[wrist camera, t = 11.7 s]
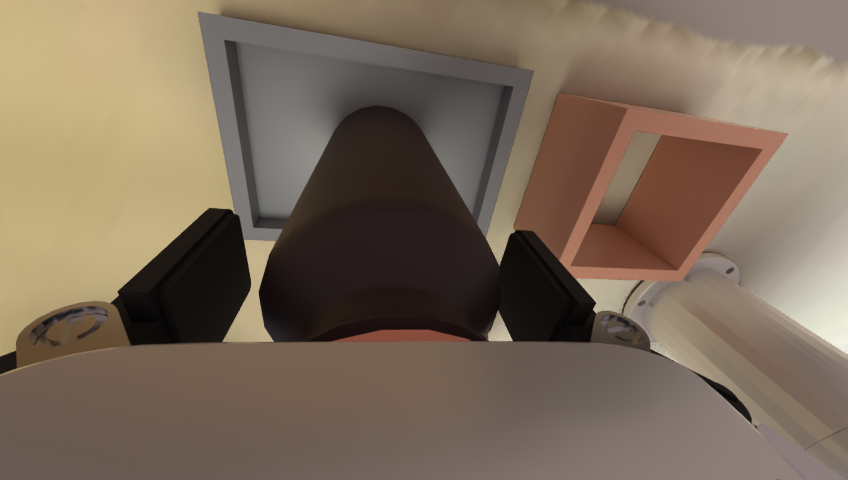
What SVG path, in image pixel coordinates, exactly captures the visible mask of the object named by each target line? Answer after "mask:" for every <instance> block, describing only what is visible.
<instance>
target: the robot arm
mask: <svg viewBox="0 0 848 480" xmlns="http://www.w3.org/2000/svg"><path fill="white" fill-rule="evenodd" d="M500 280H501V303H500V306H499V308H498V310H499V312H500V315H501V317H502V319H503V321H504V323H505V325H506V327H507V329H508V332H509V334H510V336H511V338H512V340H513V341H424V342H222V341H223V339H224V338H225V336H226V334H227V332H228V330H229V328H230V326H231V325H232V323H233V321H234V319H235V317H236V315H237V314H238V312H239V310H240V308H241V306H242V304H243V302H244V301H245V299H246V297H247V295H248V293H249V291H250V288H251V278H250V273H249V267H248V261H247V256H246V250H245V244H244V238H243V233H242V227H241V221H240V217H239V215H237V214H234V213H233V211H232V210H231V209H217V208H209V209H207V210H206V211H205V212H204V213H203V214H202V215H201V216H200V217H199V218H198V219H197V220H195V221H194V222H193V223H192V224H191V225H190V226H189V227H188V228H187V229H186V230H184V231H183V232H182V233H181V234H180V235H179V236H178V237H177V238H176V239H175V240H174V241H172V242H171V243H170V244H169V245H168V246H167V247H166V248H165V249H164V250H163V251H161V252H160V253H159V254H158V255H157V256H156V257H155V258H154V259H153V260H152V261H151V262H149V263H148V264H147V265H146V266H145V267H144V268H143V269H142V270H141V271H140V272H138V273H137V274H136V275H135V276H134V277H133V278H132V279H131V280H130V281H129V282H127V283H126V284H125V285H124V286H123V287H122V288H121V289H120V290H119V291H118V294H119V296H118V297H117V298H116V299H115V300H114V301H112V302H111V303H107V302H100V301H92V302H82V303H77V304H73V305H69V306H65V307H63V308H60V309H57V310H54V311H52V312H50V313H48V314H46V315H44V316H42V317H40V318H38V319H36V320H35V321H33V322H32V323H31V324H29V325H28V326H26V327H25V328H24V330H23V331H22V332H21V333H20V334H19V335H18V338H17V341H16V351H14V352H11V353H9V354H6V355H3V356H1V357H0V480H848V355H847V354H846V353H844V352H843V351H841V350H840V349H838V348H836V347H835V346H833V345H832V344H830V343H829V342H827V341H826V340H824V339H822V338H821V337H819V336H818V335H816V334H815V333H813V332H811V331H810V330H808V329H807V328H805V327H804V326H802V325H801V324H799V323H797V322H796V321H794V320H793V319H791V318H790V317H788V316H786V315H785V314H783V313H782V312H780V311H779V310H777V309H776V308H774V307H772V306H771V305H769V304H768V303H766V302H765V301H763V300H761V299H760V298H758V297H757V296H755V295H754V294H752V293H751V292H749V291H747V290H746V289H744V288H743V287H741V286H740V285H738V284H739V281H740V272H739V269H738V267H737V266H736V265H735V264H734V262H732V261H731V260H729V259H727V258H726V257H724V256H722V255H719V254H715V253H702V254H701V255H700V256H699V258H698V259H697V261H696V262H695V263H694V265H693V266H692V267H691V269H690V270H689V272H688V273H687V274H686V276H685V277H684V278H683V280H682V281H681V282H677V281H647V280H644V281H643V282H642V283H641V284H640V285H639V286H638V287H637V288H636V290H635V291H634V292H633V293H632V295H631V296H630V298H629V299H628V301H627V304H626V306H625V309H624V313H623V315H622V314H619V313H616V312H612V311H600V312H598V313H597V314H596V313H595V312H594V310H593V308H594V306H595V305H596V302H595V301H594V300H593V299H592V297H591V296H590V295H589V294H588V293H587V292H586V291H585V289H584V288H583V287H582V286H581V285H580V284H579V283H578V281H577V280H576V279H575V278H574V277H573V276H572V275H571V273H570V272H569V271H568V270H567V269H566V268H565V267H564V266H563V264H562V263H561V262H560V261H559V260H558V259H557V258H556V256H555V255H554V254H553V253H552V252H551V251H550V250H549V248H548V247H547V246H546V245H545V244H544V243H543V242H542V240H541V239H540V238H539V237H538V236H537V235H536V234H535V232H533V231H529V230H516V231H515V233H512V234H511V235H510V237H509V239H508V242H507V246H506V249H505V252H504V255H503V258H502V261H501V264H500ZM650 342H659V343H660V344H661V345H662V346H663V347H664V348H665V349H666V350H667V351H668V352H669V353H670V354H671V356H672V357H673V358H674V359H675V360H676V361H677V362H678V363H677V362H675V361H673V360H671V359H669V358H667V357H665V356H663V355H661V354H659V353H657V352H655V351H653V350H651V349H650Z"/></svg>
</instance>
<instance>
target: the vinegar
mask: <svg viewBox="0 0 848 480" xmlns="http://www.w3.org/2000/svg"><path fill="white" fill-rule="evenodd" d="M259 298H260V304H261V310H262V316H263V321H264V327H265V328H266V330H267V332H268V333H269V335H270V336H271V338H272V339H273V341H274V342H424V341H487V339H486V338H485V337H486V336H487V334H488V333H489V331H490V330H491V328H492V325H493V322H494V320H495V317H496V314H497V311H498V308H499V306H500V303H501V280H500V267H499V265H498V262H497V260H496V258H495V256H494V254H493V252H492V250H491V248H490V246H489V244H488V242H487V240H486V238H485V236H484V235H483V233H482V231H481V230H480V228H479V226H478V224H477V223H476V221H475V219H474V218H473V216H472V214H471V213H470V211H469V209H468V208H467V206H466V204H465V203H464V201H463V199H462V197H461V196H460V194H459V192H458V191H457V189H456V187H455V186H454V184H453V182H452V181H451V179H450V177H449V175H448V174H447V172H446V170H445V169H444V167H443V165H442V164H441V162H440V160H439V159H438V157H437V155H436V154H435V152H434V150H433V148H432V147H431V145H430V143H429V142H428V140H427V138H426V137H425V135H424V133H423V132H422V130H421V128H420V127H419V126H418V125H417V124H416V123H415V122H414V121H413V120H412V119H411V118H410V117H409V116H408V115H407V114H404V113H402V112H400V111H398V110H396V109H394V108H392V107H384V106H377V105H375V106H370V107H365V108H360V109H358V110H356V111H355V112H353V113H351V114H350V115H348V116H346V117H345V118H344V119H343V120H342V122H341V123H340V124H339V125H338V127H337V128H336V129H335V130H334V132H333V134H332V136H331V138H330V140H329V142H328V144H327V146H326V148H325V150H324V151H323V153H322V155H321V157H320V159H319V161H318V163H317V165H316V167H315V169H314V171H313V172H312V174H311V176H310V178H309V180H308V182H307V184H306V186H305V188H304V190H303V192H302V193H301V195H300V197H299V199H298V201H297V203H296V205H295V207H294V209H293V211H292V213H291V215H290V216H289V218H288V220H287V222H286V224H285V226H284V228H283V230H282V232H281V234H280V236H279V237H278V239H277V241H276V243H275V245H274V247H273V249H272V251H271V253H270V255H269V258H268V261H267V265H266V268H265V272H264V275H263V278H262V282H261V285H260V289H259Z"/></svg>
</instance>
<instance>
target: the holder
mask: <svg viewBox="0 0 848 480" xmlns="http://www.w3.org/2000/svg"><path fill="white" fill-rule="evenodd" d="M635 131H640V132H647V133H654V134H661V135H662V137H661V139H660V141H659V143H658V145H657V147H656V149H655V151H654V152H653V154H652V156H651V158H650V160H649V162H648V164H647V166H646V168H645V170H644V171H643V173H642V175H641V177H640V179H639V181H638V183H637V185H636V187H635V189H634V190H633V192H632V194H631V196H630V198H629V200H628V202H627V204H626V206H625V208H624V210H623V211H622V213H621V215H620V217H619V219H618V221H617V223H616V225H602V224H591V222H592V220H593V217H594V215H595V213H596V211H597V209H598V207H599V205H600V203H601V201H602V199H603V196H604V194H605V192H606V190H607V188H608V186H609V184H610V182H611V180H612V178H613V176H614V173H615V171H616V169H617V167H618V165H619V163H620V161H621V159H622V157H623V155H624V152H625V150H626V148H627V146H628V144H629V142H630V140H631V138H632V136H633V134H634V132H635ZM787 135H788V134H786V133H781V132H775V131H770V130H765V129H760V128H755V127H750V126H745V125H740V124H735V123H730V122H725V121H720V120H715V119H710V118H705V117H700V116H695V115H690V114H685V113H679V112H673V111H667V110H660V109H654V108H648V107H642V106H636V105H630V104H624V103H618V102H612V101H605V100H599V99H593V98H587V97H581V96H575V95H569V94H563V93H559V94H558V97H557V100H556V103H555V106H554V109H553V112H552V115H551V117H550V120H549V123H548V126H547V129H546V132H545V135H544V138H543V141H542V144H541V147H540V150H539V153H538V156H537V159H536V162H535V165H534V168H533V171H532V174H531V177H530V180H529V183H528V186H527V189H526V192H525V195H524V198H523V201H522V204H521V207H520V210H519V213H518V216H517V219H516V222H515V225H514V230H515V231H516V230H529V231H533V232H535V234H536V235H537V236H538V237H539V238H540V239H541V240H542V242H543V243H544V244H545V245H546V246H547V247H548V248H549V250H550V251H551V252H552V253H553V254H554V255H555V256H556V258H557V259H558V260H559V261H560V262H561V263H562V264H563V266H564V267H565V268H566V269H567V270H568V271H569V272H570V273H571V275H572V276H573V277H574V278H588V279H618V280H647V281H677V282H681V281H682V280H683V278H684V277H685V276H686V274H687V273H688V272H689V270H690V269H691V267H692V266H693V265H694V263H695V262H696V261H697V259H698V258H699V256H700V255H701V254H702V252H703V251H704V250H705V248H706V247H707V245H708V244H709V243H710V241H711V240H712V238H713V237H714V236H715V234H716V233H717V232H718V230H719V229H720V227H721V226H722V225H723V223H724V222H725V221H726V219H727V218H728V216H729V215H730V214H731V212H732V211H733V210H734V208H735V207H736V205H737V204H738V203H739V201H740V200H741V199H742V197H743V196H744V194H745V193H746V192H747V190H748V189H749V188H750V186H751V185H752V183H753V182H754V181H755V179H756V178H757V177H758V175H759V174H760V172H761V171H762V170H763V168H764V167H765V165H766V164H767V163H768V161H769V160H770V159H771V157H772V156H773V154H774V153H775V152H776V150H777V149H778V148H779V146H780V145H781V143H782V142H783V141H784V139H785V138H786V137H787Z"/></svg>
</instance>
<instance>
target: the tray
mask: <svg viewBox="0 0 848 480" xmlns="http://www.w3.org/2000/svg"><path fill="white" fill-rule="evenodd" d="M198 17H199V22H200V27H201V33H202V38H203V44H204V49H205V54H206V60H207V65H208V71H209V76H210V81H211V87H212V92H213V98H214V103H215V108H216V114H217V119H218V125H219V130H220V135H221V141H222V146H223V152H224V157H225V162H226V168H227V173H228V179H229V184H230V189H231V195H232V200H233V205H234V211H235V214H237V215H239V217H240V221H241V227H242V233H243V238H244V240H264V241H277V239H278V237H279V236H280V234H281V232H282V230H283V228H284V226H285V224H286V222H287V220H288V218H289V216H290V215H291V213H292V211H293V209H294V207H295V205H296V203H297V201H298V199H299V197H300V195H301V193H302V192H303V190H304V188H305V186H306V184H307V182H308V180H309V178H310V176H311V174H312V172H313V171H314V169H315V167H316V165H317V163H318V161H319V159H320V157H321V155H322V153H323V151H324V150H325V148H326V146H327V144H328V142H329V140H330V138H331V136H332V134H333V132H334V130H335V129H336V128H337V127H338V125H339V124H340V123H341V122H342V120H343V119H344V118H345V117H346V116H348V115H350V114H351V113H353V112H355V111H356V110H358V109H360V108H365V107H370V106H375V105H377V106H384V107H392V108H394V109H396V110H398V111H400V112H402V113H404V114H407V115H408V116H409V117H410V118H411V119H412V120H413V121H414V122H415V123H416V124H417V125H418V126H419V127H420V128H421V130H422V132H423V133H424V135H425V137H426V138H427V140H428V142H429V143H430V145H431V147H432V148H433V150H434V152H435V154H436V155H437V157H438V159H439V160H440V162H441V164H442V165H443V167H444V169H445V170H446V172H447V174H448V175H449V177H450V179H451V181H452V182H453V184H454V186H455V187H456V189H457V191H458V192H459V194H460V196H461V197H462V199H463V201H464V203H465V204H466V206H467V208H468V209H469V211H470V213H471V214H472V216H473V218H474V219H475V221H476V223H477V224H478V226H479V228H480V230H481V231H482V233H483V235H484V236H485V238H486V235H487V232H488V228H489V225H490V221H491V218H492V214H493V211H494V207H495V204H496V201H497V197H498V194H499V190H500V187H501V183H502V180H503V176H504V173H505V169H506V166H507V162H508V159H509V155H510V152H511V149H512V145H513V142H514V138H515V135H516V131H517V128H518V124H519V121H520V117H521V114H522V110H523V107H524V103H525V100H526V97H527V93H528V90H529V86H530V83H531V79H532V76H533V72H534V71H532V70H526V69H521V68H515V67H509V66H504V65H498V64H492V63H487V62H481V61H475V60H469V59H464V58H458V57H452V56H447V55H441V54H435V53H430V52H424V51H418V50H413V49H407V48H401V47H396V46H390V45H384V44H379V43H373V42H367V41H362V40H356V39H350V38H344V37H339V36H333V35H327V34H322V33H316V32H310V31H305V30H299V29H293V28H288V27H282V26H276V25H271V24H265V23H259V22H254V21H248V20H242V19H237V18H231V17H225V16H220V15H214V14H208V13H202V12H198Z"/></svg>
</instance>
